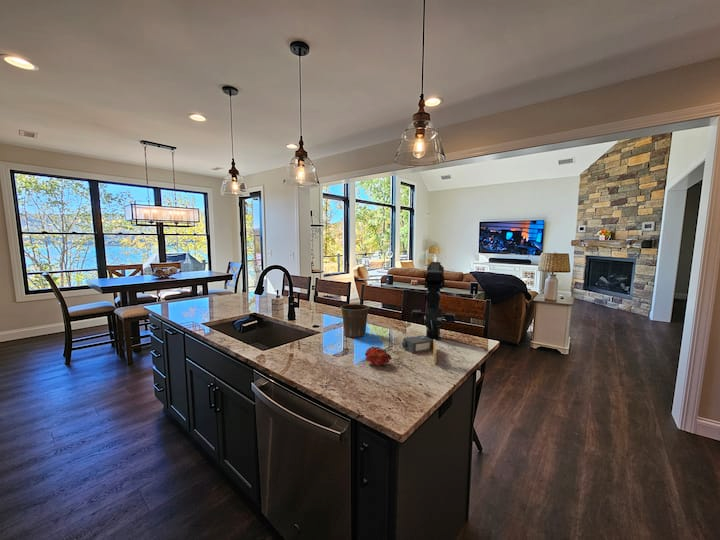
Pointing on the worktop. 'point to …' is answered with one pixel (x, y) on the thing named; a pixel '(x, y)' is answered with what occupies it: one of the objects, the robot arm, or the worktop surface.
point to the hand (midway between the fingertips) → (432, 334)
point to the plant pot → (354, 319)
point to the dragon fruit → (377, 356)
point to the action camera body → (417, 344)
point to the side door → (434, 351)
